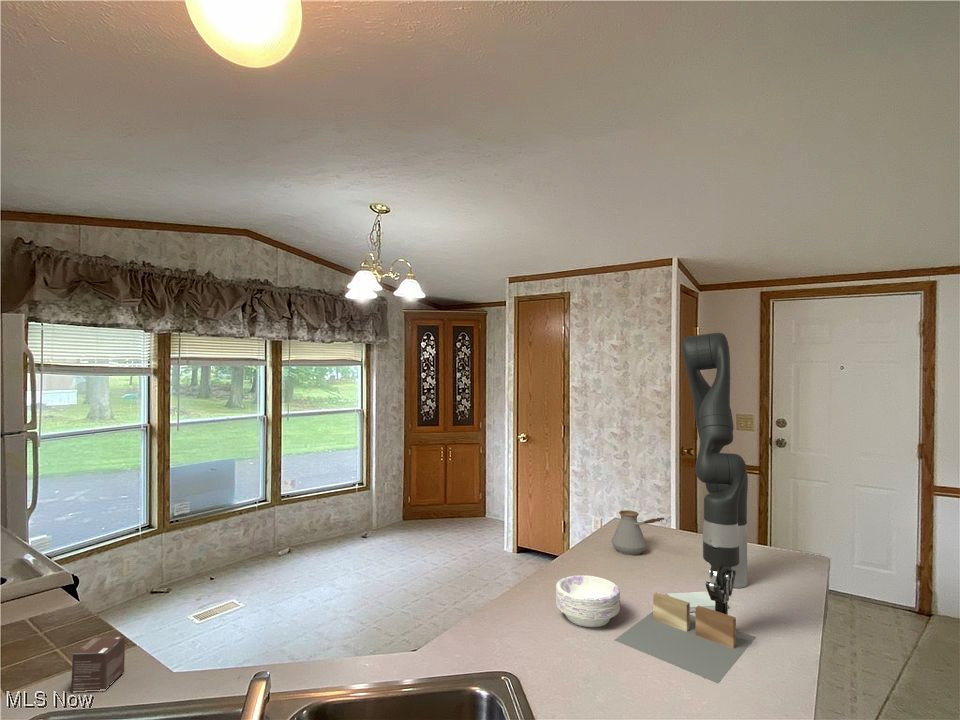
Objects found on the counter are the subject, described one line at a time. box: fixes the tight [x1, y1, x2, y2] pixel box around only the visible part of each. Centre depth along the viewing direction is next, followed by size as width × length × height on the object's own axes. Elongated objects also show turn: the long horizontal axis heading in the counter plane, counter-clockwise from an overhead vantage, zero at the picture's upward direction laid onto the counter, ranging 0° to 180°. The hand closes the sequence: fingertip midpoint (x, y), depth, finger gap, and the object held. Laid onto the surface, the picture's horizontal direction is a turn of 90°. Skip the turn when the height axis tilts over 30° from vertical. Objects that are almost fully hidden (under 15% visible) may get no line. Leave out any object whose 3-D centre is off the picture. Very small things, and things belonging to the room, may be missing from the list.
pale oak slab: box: [652, 591, 691, 632], centre depth 118 cm, size 2×8×6 cm, turn 45°
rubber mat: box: [614, 611, 757, 684], centre depth 111 cm, size 24×22×1 cm
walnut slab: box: [694, 606, 737, 648], centre depth 111 cm, size 2×8×6 cm, turn 45°
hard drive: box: [665, 591, 715, 613], centre depth 128 cm, size 2×8×12 cm
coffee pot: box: [610, 509, 668, 556], centre depth 164 cm, size 21×12×15 cm, turn 27°
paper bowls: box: [555, 574, 621, 628], centre depth 121 cm, size 15×15×8 cm
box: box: [70, 635, 126, 693], centre depth 95 cm, size 6×6×7 cm
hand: (721, 617), depth 113 cm, fingers closed
